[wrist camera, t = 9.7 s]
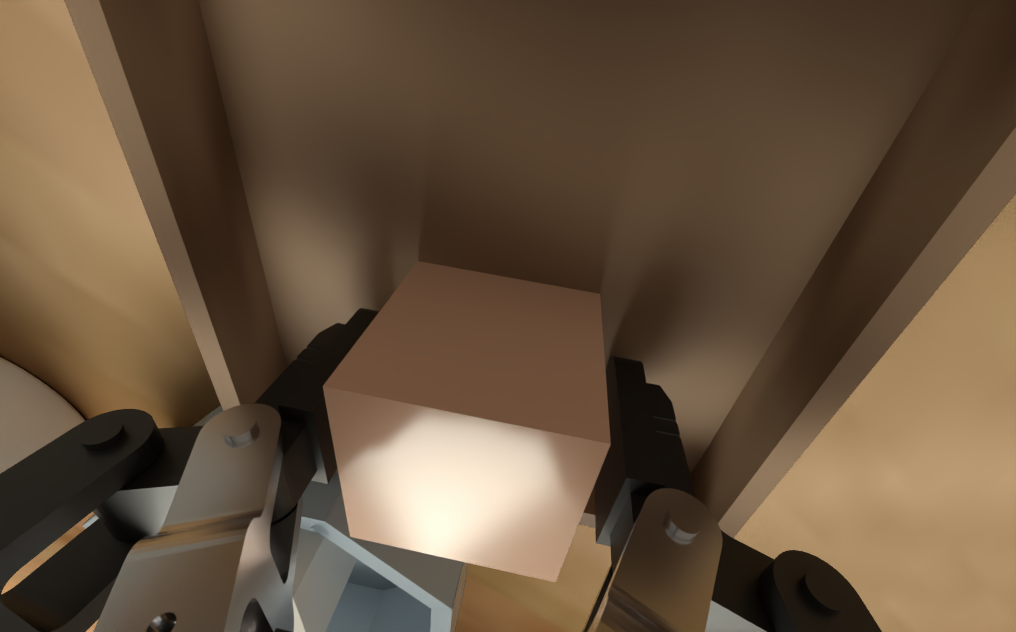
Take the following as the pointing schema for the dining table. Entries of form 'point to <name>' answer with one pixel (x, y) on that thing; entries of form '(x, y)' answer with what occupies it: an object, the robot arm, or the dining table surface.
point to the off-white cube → (318, 580)
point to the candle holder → (29, 414)
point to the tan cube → (473, 419)
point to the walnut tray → (575, 180)
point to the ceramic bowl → (379, 572)
